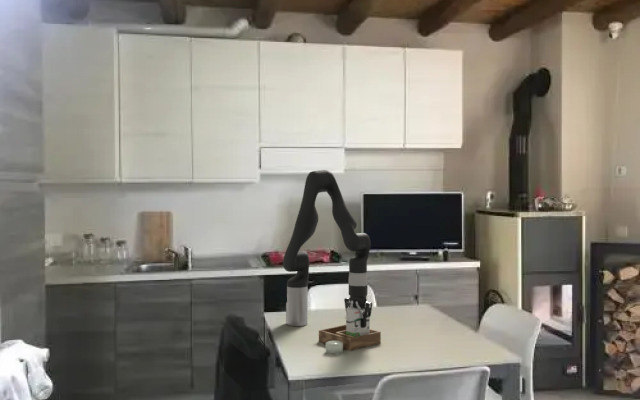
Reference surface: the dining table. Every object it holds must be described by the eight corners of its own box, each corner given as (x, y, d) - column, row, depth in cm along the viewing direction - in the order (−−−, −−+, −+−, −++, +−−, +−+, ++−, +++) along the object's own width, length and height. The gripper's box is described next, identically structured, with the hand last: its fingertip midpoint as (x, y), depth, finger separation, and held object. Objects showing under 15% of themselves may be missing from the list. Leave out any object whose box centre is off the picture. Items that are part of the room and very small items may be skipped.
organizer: (318, 341, 231) (318, 330, 231) (349, 334, 242) (349, 323, 242) (349, 351, 218) (349, 339, 218) (380, 343, 229) (380, 331, 229)
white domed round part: (322, 352, 217) (322, 342, 217) (335, 348, 221) (335, 339, 221) (333, 355, 212) (333, 346, 212) (346, 352, 216) (346, 343, 216)
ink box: (353, 340, 224) (352, 309, 224) (345, 337, 228) (345, 307, 228) (370, 337, 229) (370, 307, 228) (362, 334, 233) (362, 305, 232)
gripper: (338, 282, 231) (338, 324, 231) (364, 286, 220) (364, 331, 220) (352, 280, 236) (352, 321, 236) (377, 284, 225) (377, 327, 225)
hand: (358, 325), depth 228 cm, fingers closed on ink box, 5 cm apart
